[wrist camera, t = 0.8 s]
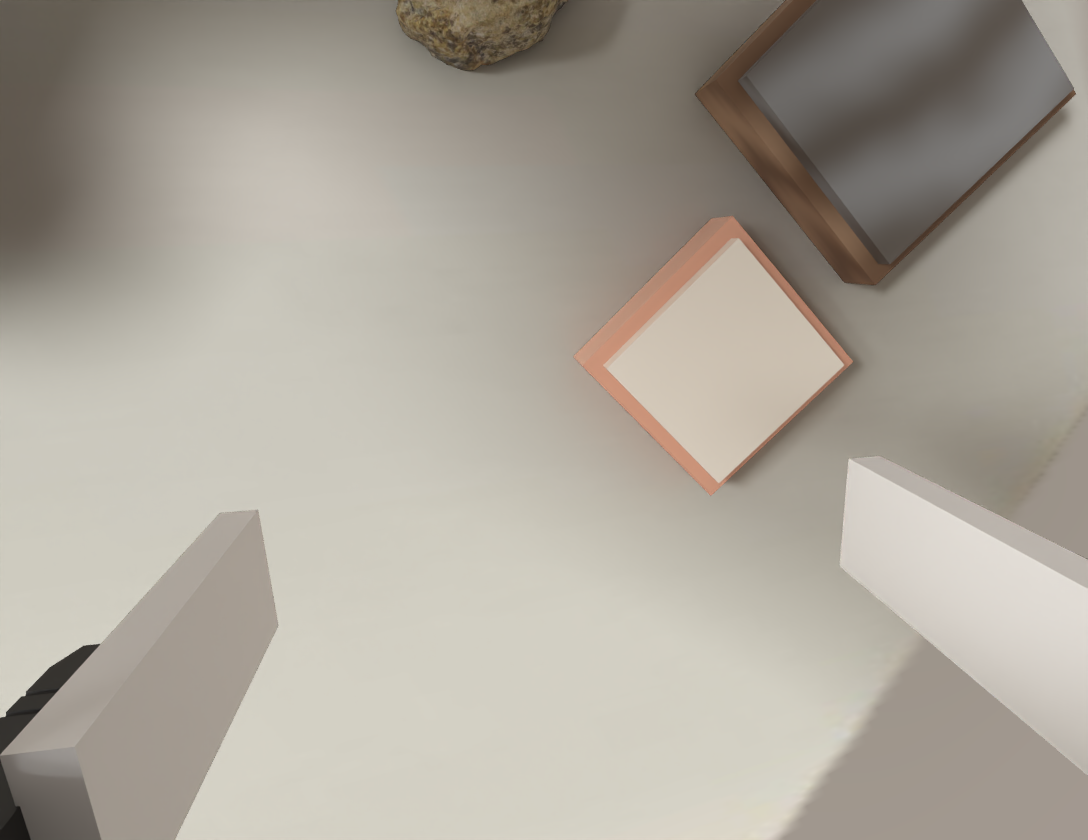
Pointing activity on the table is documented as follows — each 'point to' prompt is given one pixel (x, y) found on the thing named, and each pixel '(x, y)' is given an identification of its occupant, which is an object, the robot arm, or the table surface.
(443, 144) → the table surface
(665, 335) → the terracotta plinth
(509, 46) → the rock
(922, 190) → the walnut plinth
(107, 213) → the table surface
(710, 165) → the table surface
